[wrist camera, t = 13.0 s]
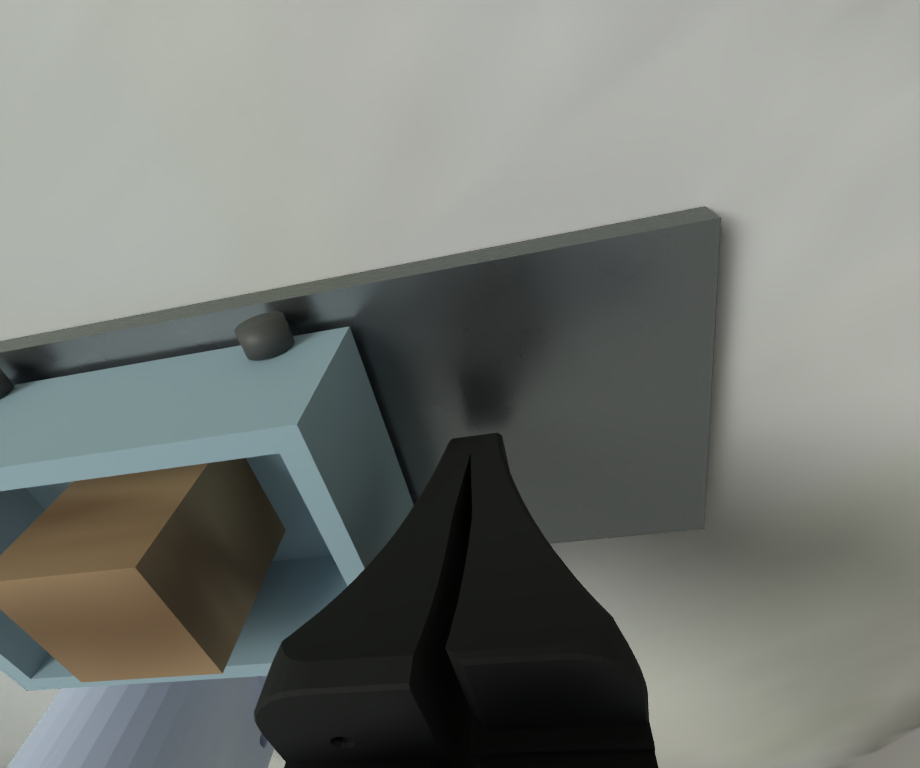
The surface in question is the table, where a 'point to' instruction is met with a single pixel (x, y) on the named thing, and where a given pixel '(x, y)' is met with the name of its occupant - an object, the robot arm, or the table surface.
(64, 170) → the table surface
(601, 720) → the robot arm
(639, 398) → the rail
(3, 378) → the cart
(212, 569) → the walnut block
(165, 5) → the table surface
